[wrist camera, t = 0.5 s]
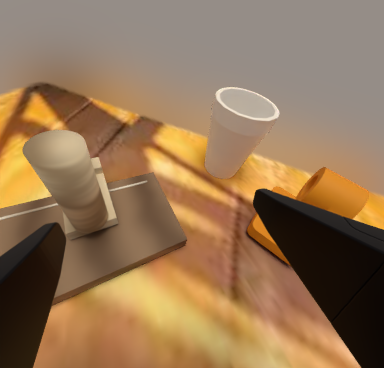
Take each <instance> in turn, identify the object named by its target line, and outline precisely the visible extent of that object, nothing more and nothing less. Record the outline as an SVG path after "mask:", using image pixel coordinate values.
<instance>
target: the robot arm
mask: <svg viewBox="0 0 384 368" xmlns="http://www.w3.org/2000/svg"><path fill="white" fill-rule="evenodd" d="M253 206H254V208H255V210H256V212H257V214H258V215H259V217H260V219H261V221H262V223H263V225H264V226H265V228H266V230H267V231H268V233H269V235H270V236H271V237H272V239H273V240H274V242H275V243H276V245H277V246H278V248H279V249H280V250H281V252H282V253H283V255H284V256H285V258H286V259H287V261H288V262H289V263H290V265H291V266H292V268H293V269H294V271H295V272H296V274H297V275H298V276H299V278H300V279H301V281H302V282H303V284H304V285H305V287H306V288H307V290H308V291H309V292H310V294H311V295H312V297H313V298H314V300H315V301H316V303H317V304H318V305H319V307H320V308H321V310H322V311H323V313H324V314H325V316H326V317H327V318H328V320H329V321H330V322H331V324H332V326H333V327H334V329H335V330H336V332H337V333H338V335H339V336H340V337H341V339H342V340H343V342H344V343H345V345H346V346H347V348H348V349H349V350H350V352H351V353H352V355H353V356H354V358H355V359H356V361H357V362H358V364H359V365H360V366H361V368H384V230H383V229H380V228H376V227H373V226H370V225H367V224H364V223H361V222H358V221H355V220H352V219H350V218H347V217H344V216H343V217H342V216H341V215H338V214H335V213H332V212H330V211H327V210H324V209H321V208H318V207H315V206H313V205H310V204H307V203H304V202H301V201H298V200H296V199H293V198H290V197H287V196H284V195H281V194H279V193H276V192H273V191H270V190H267V189H258V190H256V192H255V196H254V200H253ZM65 247H66V236H65V234H64V232H63V230H62V228H61V226H60V224H59V223H58V222H53V223H47V224H44V225H43V226H41V227H40V228H39V229H37V230H36V231H35V232H33V233H32V234H30V235H29V236H28V237H26V238H25V239H23V240H22V241H21V242H19V243H18V244H17V245H15V246H14V247H12V248H11V249H10V250H8V251H7V252H5V253H4V254H3V255H1V256H0V368H33V365H34V362H35V359H36V356H37V352H38V349H39V346H40V342H41V339H42V336H43V332H44V329H45V326H46V323H47V319H48V316H49V313H50V309H51V306H52V303H53V299H54V296H55V293H56V290H57V286H58V283H59V279H60V275H61V270H62V264H63V258H64V253H65Z"/></svg>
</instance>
